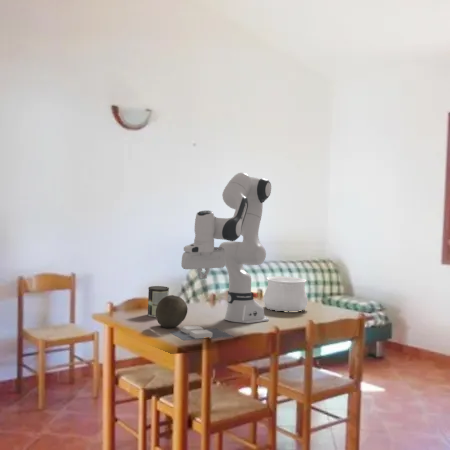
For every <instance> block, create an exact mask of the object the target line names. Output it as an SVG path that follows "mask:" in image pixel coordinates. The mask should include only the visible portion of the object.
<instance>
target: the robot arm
mask: <svg viewBox="0 0 450 450" xmlns="http://www.w3.org/2000/svg"><path fill="white" fill-rule="evenodd" d="M271 194H272V183H271V182H270V180H269V179H266V178H261V177H254V176H250V175H248V174H247V173H245V172H238V173H236V174H235V175H234V176H233V177H232V178H231V179H230V180H229V181H228V182H227V184H226V186H225V187H224V189H223V192H222V200H223V202H224V203H225V205H226V206H227V207H229V208H231V209H232V210H234V214H233V216H232V217H229V218H226V217H225V218H224V217H223V218H222V217H217V216H215V215H214V212H213V211H212V210H201V211H200V210H199V211H198V212H196V214H195V219H194V220H195V221H194V239H193V240H194V241H193V243H190V244H188V245H185V246H183V251H184V252H183V253H182V256H181V262H180V263H181V268H182V269H183V270H196V271H197V273H198V274H199V279H201V280H202V279H208V274H209V272H210V270H211V269H221V268H224V267H226V270H227V274H228V291H227V306H226V312H225V315H224V317H223V319H224V320H226V321H227V322H232V323H243V324H252V323H260V322H268V321H269V317H268V316H266V315H265V310H264V307H263V306H262V305H261V304H260V303H258V302H257V301H256V300H255V299H254V298H257V297H258V293H256V292H252V276H251V274H250V273H248V272H247V271H246V270H245V268H244V265H245V266H246V265H247V266H257V265H259V266H260V265H262V264H263V263H264V262H265V261H266V256H267V252H266V249H265V247H264V246H263V245H262V244H261V241H260V238H259V230H260V224H261V220H262V214H263V205H264V204H263V203H265V201H266V200H268V198H269V197H270V196H271ZM241 236H242V241H237V240H238V239H239V238H240V237H241ZM215 240H224V242H221V243H220V245H219V246H215ZM203 269H204V273H202V272H203Z"/></svg>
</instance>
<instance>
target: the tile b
mask: <svg viewBox="0 0 450 450" xmlns="http://www.w3.org/2000/svg"><path fill="white" fill-rule="evenodd" d="M190 336H192V337H194V338H195V340H199V339H198V338H204V337H212V332H210V331H208V330H195V331H190Z"/></svg>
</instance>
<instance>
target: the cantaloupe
mask: <svg viewBox="0 0 450 450" xmlns="http://www.w3.org/2000/svg"><path fill="white" fill-rule="evenodd" d="M188 311H189V310H188V305H187V302H186V301H185V300H184V299H183V298H181V296H177V295H173V294H171V295H170V294H169V295H168V296H166V297H164V298H162V299H161V301H160V302H159V303H158V305H157V308H156V317H155V318H156V321H157V323H158V324H159V325H160V326H161V327H162V328H164V329H172V328H176V327H178V326H179V325H181V324H182V323H183V322H184V320H185V319H186V317H187V314H188Z"/></svg>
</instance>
